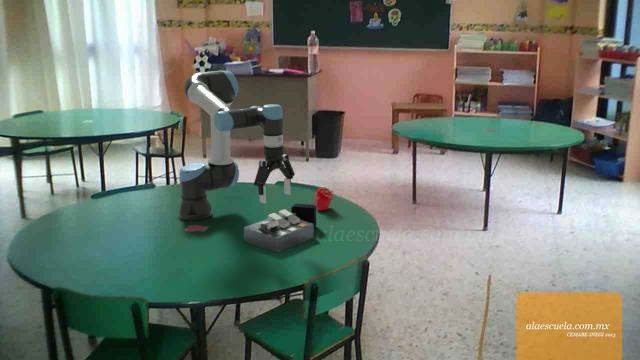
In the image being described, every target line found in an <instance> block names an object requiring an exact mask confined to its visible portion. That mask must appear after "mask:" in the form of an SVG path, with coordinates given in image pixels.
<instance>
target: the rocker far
mask: <svg viewBox="0 0 640 360" xmlns="http://www.w3.org/2000/svg"><path fill="white" fill-rule="evenodd" d="M277 215H280V216H283V215H284V216H287V217H288V221H289V222H291V223H292V224H296V223H299V221H300V218H298V217H297V216H295V215H293V214H292V213H291V212H290V211H288V210H287V209H285V208H284V209H281V210H278V214H277Z"/></svg>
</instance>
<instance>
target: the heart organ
mask: <svg viewBox="0 0 640 360" xmlns="http://www.w3.org/2000/svg"><path fill="white" fill-rule="evenodd" d="M334 196H335V197H336V194H334V191H333V190H329V189H327V188H326V187H319V188H317V190H316V191H315V192H314V199H315V200H314V205H316V210H318V211H320V212H321V211H326V210H328V209H329V208H330V207H331V203H332V201H333V199H335V197H334Z"/></svg>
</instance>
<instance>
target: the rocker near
mask: <svg viewBox="0 0 640 360" xmlns="http://www.w3.org/2000/svg"><path fill="white" fill-rule="evenodd" d="M262 223H263V224H266V227H275V226H278V225H279V222H278V221H268V222H261V223H258V224H257V225H258V228H261V224H262Z"/></svg>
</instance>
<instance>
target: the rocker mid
mask: <svg viewBox="0 0 640 360" xmlns="http://www.w3.org/2000/svg"><path fill="white" fill-rule="evenodd" d="M267 219H270V220H272V219H274V220H277V221H278V222H279V226H280V227H282V228H286V227H288V226H289V224H290V223H289V222H288V221H287V220H285V219H284V218H282V217H280V216H279V215H278V214H277V213H275V212H273V213H270V214H268V216H267Z"/></svg>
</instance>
